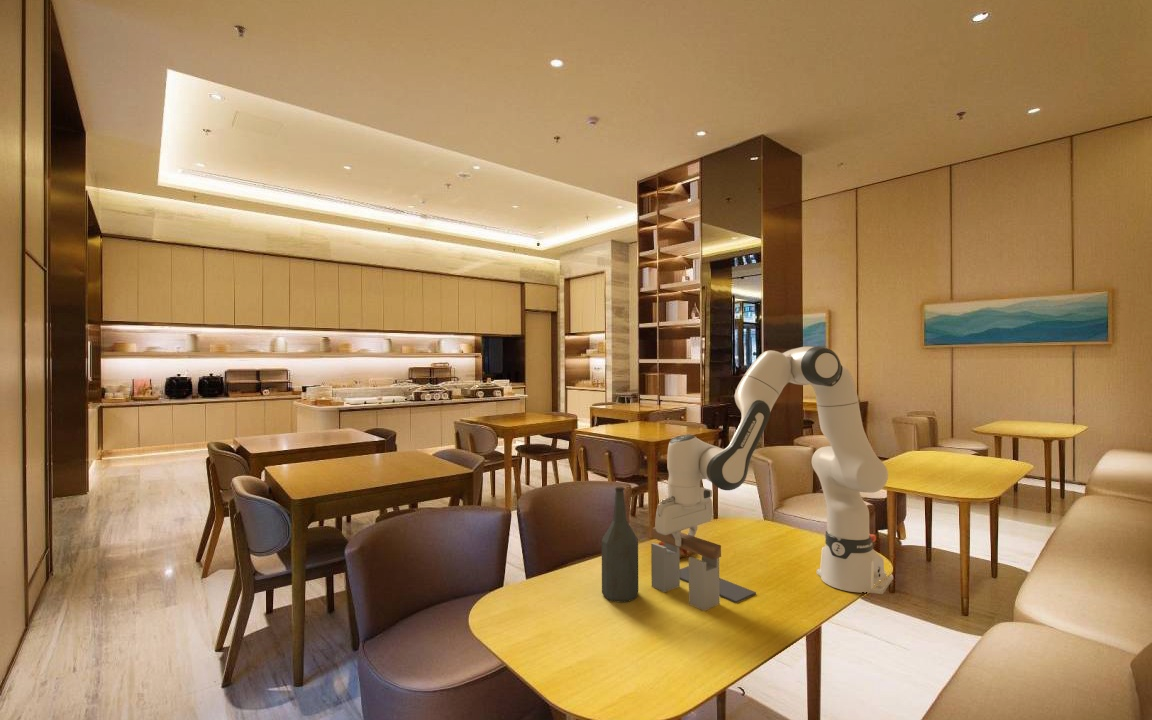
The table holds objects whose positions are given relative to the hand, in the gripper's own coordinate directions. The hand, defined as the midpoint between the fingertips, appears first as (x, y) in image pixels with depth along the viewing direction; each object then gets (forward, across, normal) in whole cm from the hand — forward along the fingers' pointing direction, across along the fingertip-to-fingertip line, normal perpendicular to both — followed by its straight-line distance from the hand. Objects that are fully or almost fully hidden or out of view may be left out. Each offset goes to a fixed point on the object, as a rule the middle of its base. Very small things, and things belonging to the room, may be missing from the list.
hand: (685, 543), depth 146 cm
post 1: (+14, 0, +7) cm, 16 cm away
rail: (+1, 0, 0) cm, 1 cm away
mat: (+14, +11, 0) cm, 18 cm away
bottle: (+14, -14, +11) cm, 23 cm away
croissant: (+15, +22, +23) cm, 35 cm away
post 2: (+14, 0, -7) cm, 16 cm away
